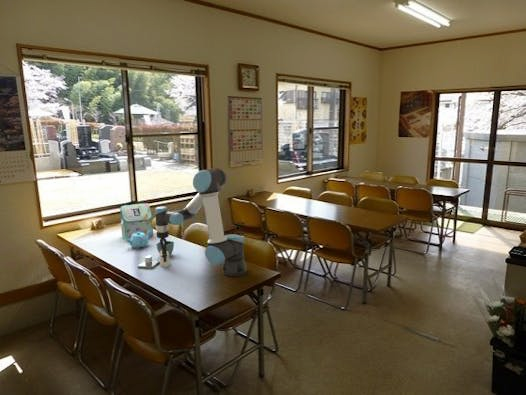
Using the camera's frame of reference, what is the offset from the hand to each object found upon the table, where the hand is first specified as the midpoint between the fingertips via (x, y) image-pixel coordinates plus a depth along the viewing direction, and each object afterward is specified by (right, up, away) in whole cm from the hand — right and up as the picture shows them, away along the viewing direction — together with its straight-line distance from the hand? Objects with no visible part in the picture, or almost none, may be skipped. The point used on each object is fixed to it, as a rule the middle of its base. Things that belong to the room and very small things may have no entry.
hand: (164, 262), depth 250 cm
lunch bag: (-37, +10, +60) cm, 71 cm away
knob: (0, -1, 0) cm, 1 cm away
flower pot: (-3, +2, +17) cm, 17 cm away
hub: (-10, -2, -2) cm, 10 cm away
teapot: (-28, +6, +36) cm, 45 cm away
